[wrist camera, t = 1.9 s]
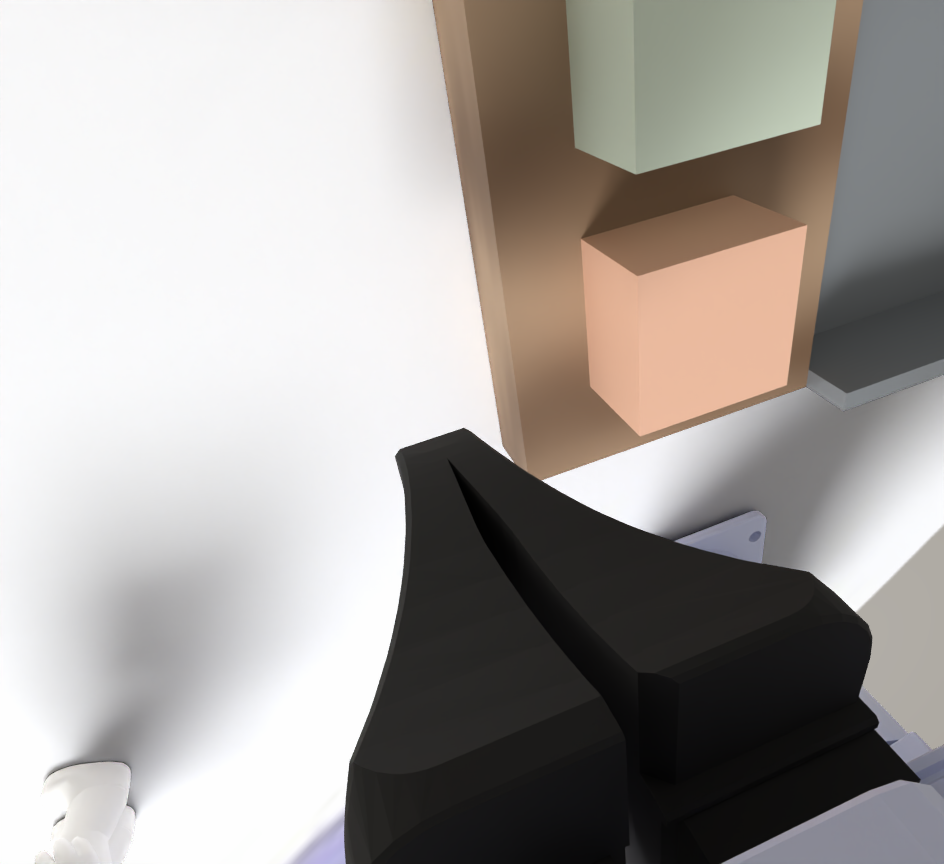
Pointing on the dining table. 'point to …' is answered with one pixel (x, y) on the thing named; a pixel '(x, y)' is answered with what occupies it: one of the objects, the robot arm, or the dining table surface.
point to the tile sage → (693, 75)
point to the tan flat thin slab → (595, 216)
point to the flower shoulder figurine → (90, 814)
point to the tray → (886, 214)
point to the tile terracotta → (691, 310)
